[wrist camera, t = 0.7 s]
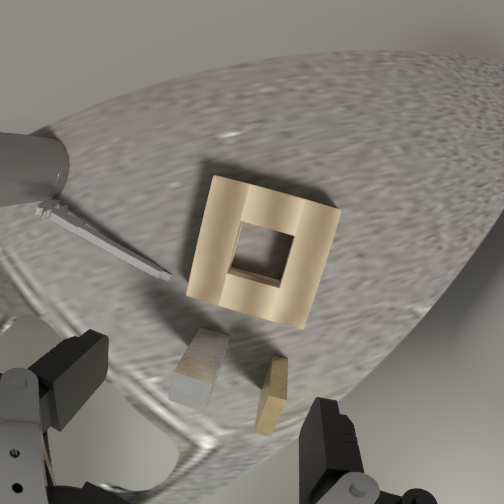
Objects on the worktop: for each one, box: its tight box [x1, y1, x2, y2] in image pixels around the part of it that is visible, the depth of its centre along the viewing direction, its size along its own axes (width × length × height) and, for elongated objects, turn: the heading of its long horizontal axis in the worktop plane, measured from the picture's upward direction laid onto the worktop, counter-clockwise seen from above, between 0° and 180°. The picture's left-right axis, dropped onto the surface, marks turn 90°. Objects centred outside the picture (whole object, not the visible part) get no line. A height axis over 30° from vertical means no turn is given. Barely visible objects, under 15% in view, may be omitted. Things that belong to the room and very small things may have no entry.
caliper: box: [36, 199, 172, 281], centre depth 37 cm, size 20×1×6 cm, turn 60°
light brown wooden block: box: [254, 355, 288, 436], centre depth 37 cm, size 2×6×9 cm, turn 165°
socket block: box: [186, 175, 342, 329], centre depth 37 cm, size 14×14×3 cm
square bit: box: [169, 327, 230, 411], centre depth 36 cm, size 4×4×11 cm
